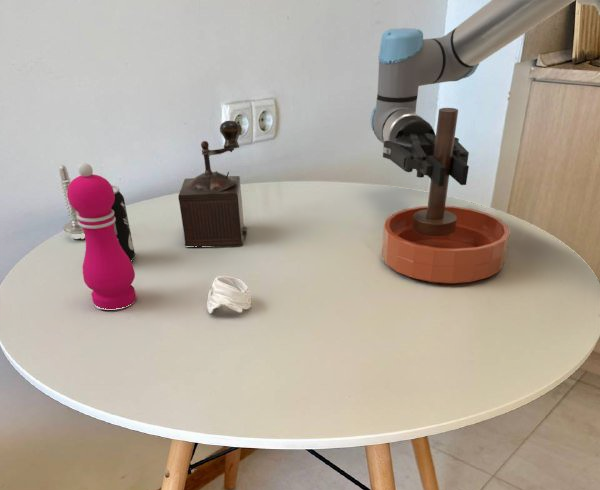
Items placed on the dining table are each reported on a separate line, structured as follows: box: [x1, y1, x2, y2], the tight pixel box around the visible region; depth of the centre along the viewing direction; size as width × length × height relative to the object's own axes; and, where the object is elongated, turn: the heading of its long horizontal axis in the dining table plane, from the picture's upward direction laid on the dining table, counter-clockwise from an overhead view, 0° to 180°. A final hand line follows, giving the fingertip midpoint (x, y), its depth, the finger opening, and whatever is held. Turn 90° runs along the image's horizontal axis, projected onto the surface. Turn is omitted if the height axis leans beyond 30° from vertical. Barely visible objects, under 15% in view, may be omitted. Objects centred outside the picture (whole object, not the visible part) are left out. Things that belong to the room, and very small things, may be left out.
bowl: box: [381, 205, 511, 284], centre depth 97 cm, size 20×20×6 cm
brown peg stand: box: [412, 107, 459, 236], centre depth 93 cm, size 7×7×18 cm
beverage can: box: [111, 184, 136, 262], centre depth 97 cm, size 7×7×12 cm
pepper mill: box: [67, 162, 137, 309], centre depth 83 cm, size 7×7×20 cm
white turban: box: [206, 275, 252, 315], centre depth 86 cm, size 8×7×5 cm
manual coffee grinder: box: [178, 120, 248, 248], centre depth 106 cm, size 16×11×18 cm
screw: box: [58, 164, 84, 235], centre depth 106 cm, size 13×5×5 cm
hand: (453, 176), depth 88 cm, fingers closed on brown peg stand, 3 cm apart
